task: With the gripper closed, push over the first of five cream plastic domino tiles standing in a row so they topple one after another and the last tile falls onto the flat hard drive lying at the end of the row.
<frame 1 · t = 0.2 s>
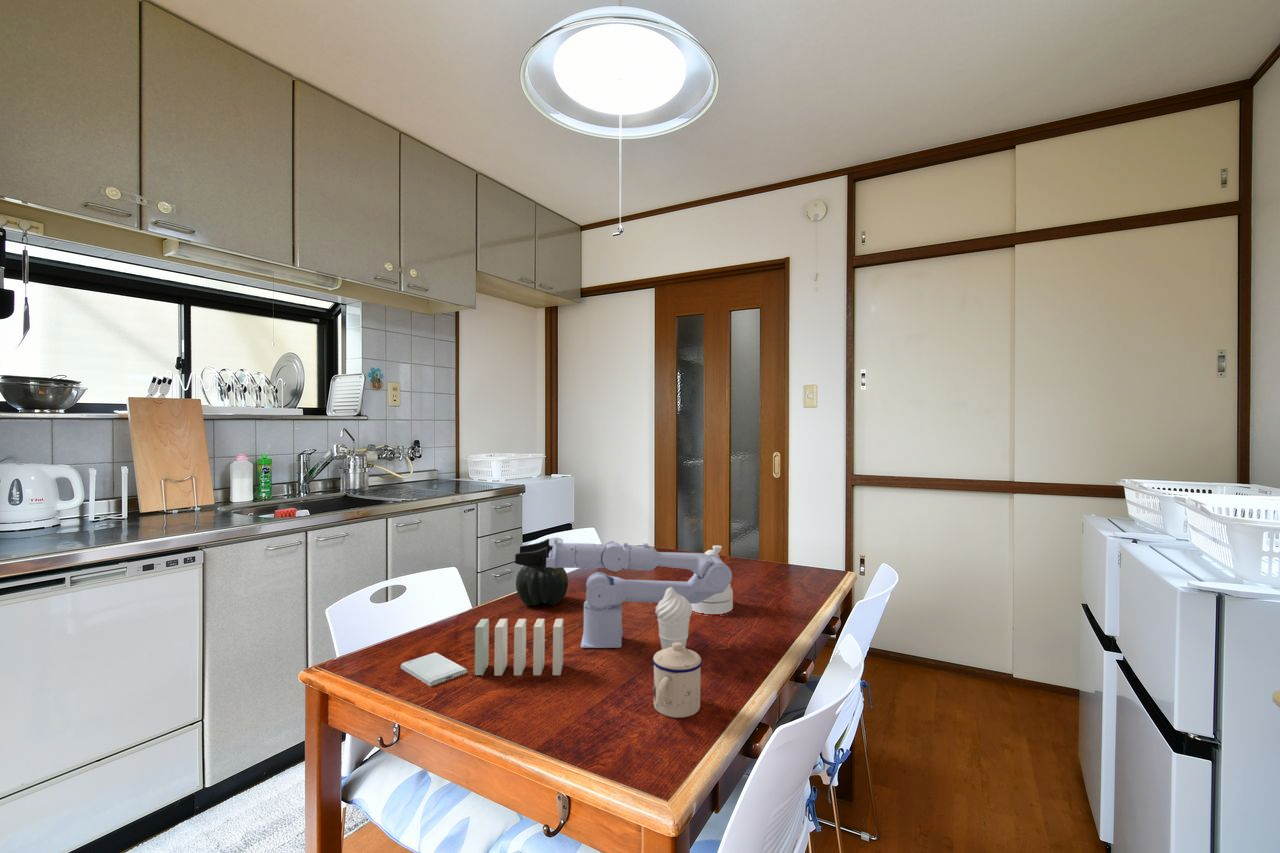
hand: (517, 554, 131), 21 cm above the table, tool horizontal, fingers open, 7 cm apart
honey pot: (710, 608, 158), on the table
domino 3: (519, 670, 117), on the table
domino 5: (481, 670, 116), on the table
teacup with lid: (673, 711, 101), on the table
domino 4: (500, 670, 116), on the table
domino 1: (557, 669, 117), on the table
squash: (541, 603, 162), on the table
hard drive: (433, 674, 116), on the table
soft serve ice cream cone: (673, 660, 123), on the table
domino 2: (538, 670, 117), on the table
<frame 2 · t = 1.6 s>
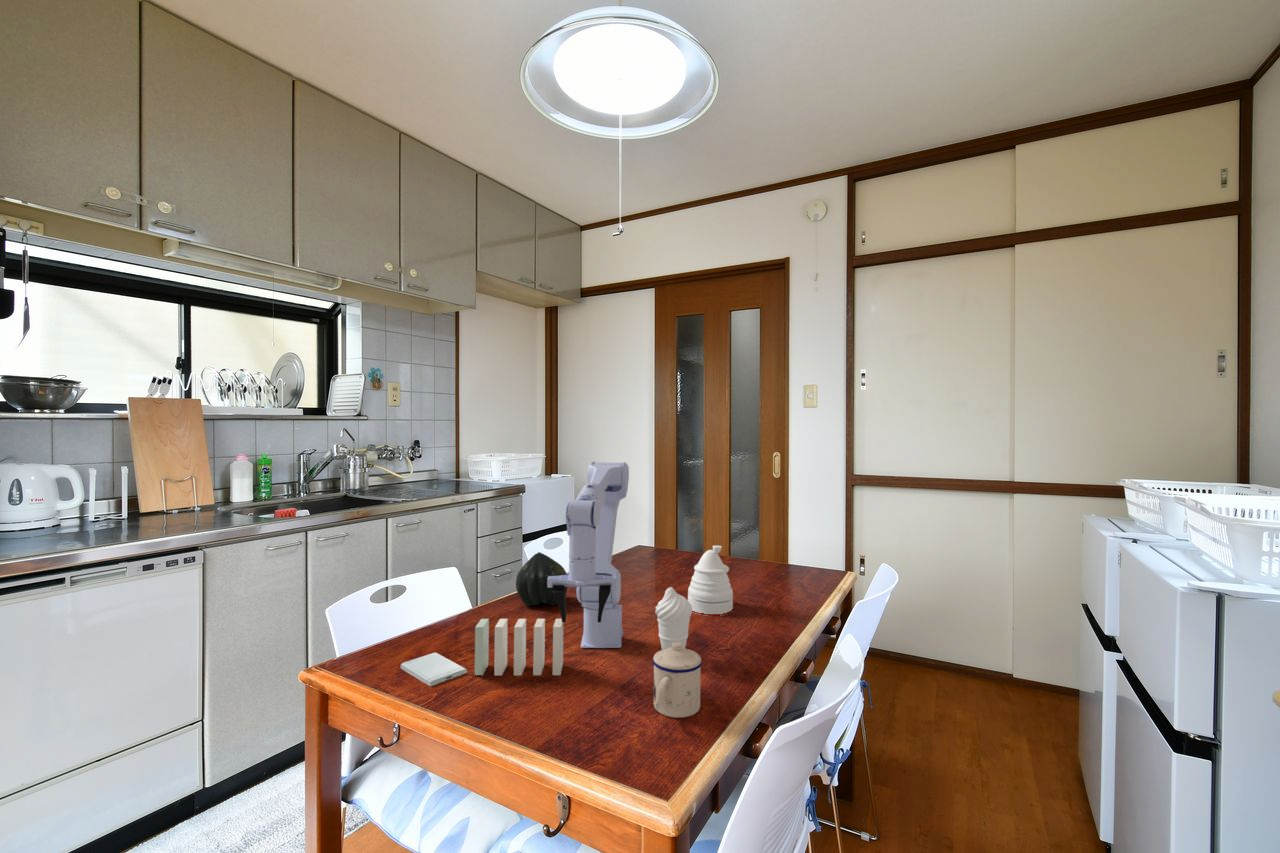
hand: (581, 620, 117), 10 cm above the table, tool pointing down, fingers open, 7 cm apart
nothing on the table moved.
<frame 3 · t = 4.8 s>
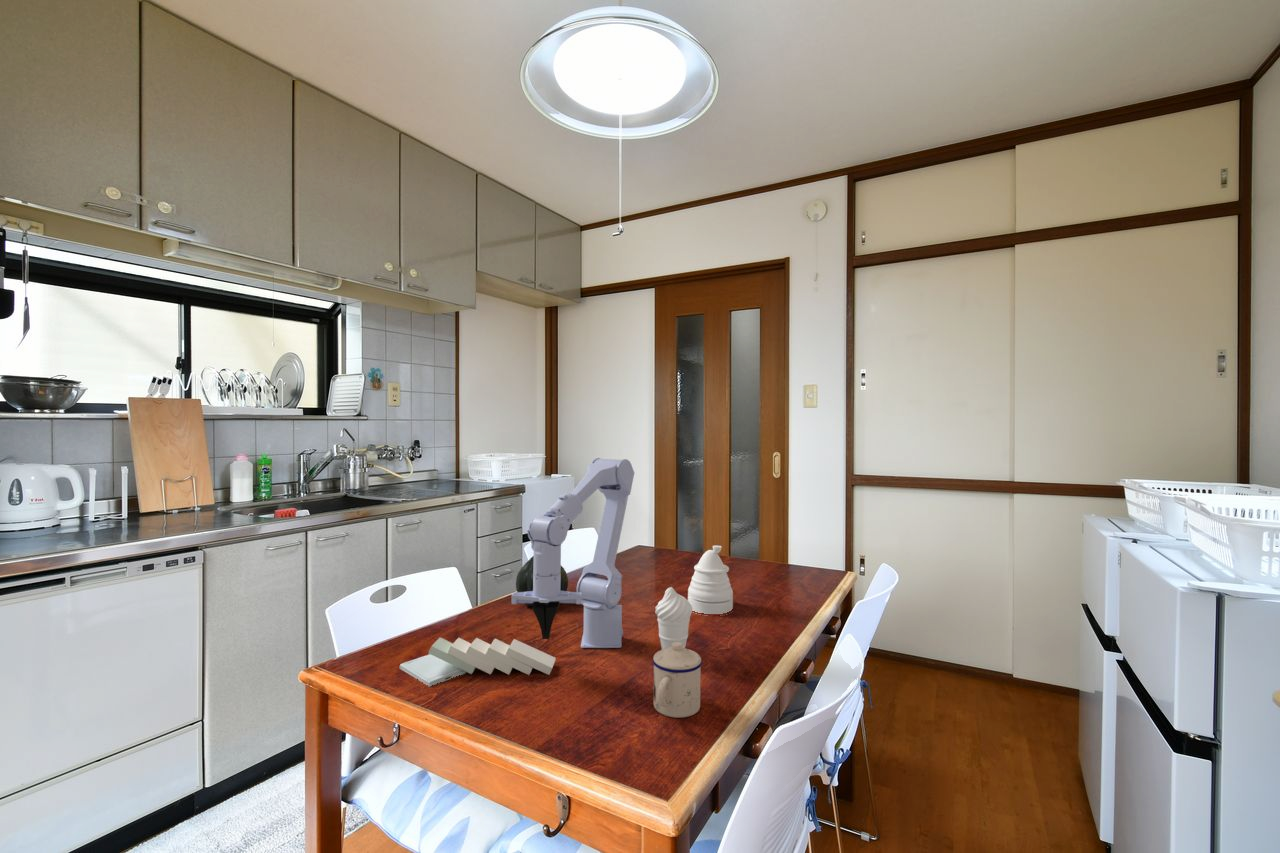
hand: (546, 637, 117), 7 cm above the table, tool pointing down, fingers closed
domino 3: (513, 666, 117), point 1 cm above the table, tilted 64°, touching domino 2, domino 4
domino 5: (476, 665, 116), point 1 cm above the table, tilted 64°, touching domino 4, hard drive
domino 4: (495, 666, 117), point 1 cm above the table, tilted 64°, touching domino 3, domino 5
domino 1: (552, 666, 117), point 1 cm above the table, tilted 66°
hard drive: (432, 674, 116), on the table, touching domino 5
domino 2: (532, 666, 117), point 1 cm above the table, tilted 65°, touching domino 3
everything else where it was.
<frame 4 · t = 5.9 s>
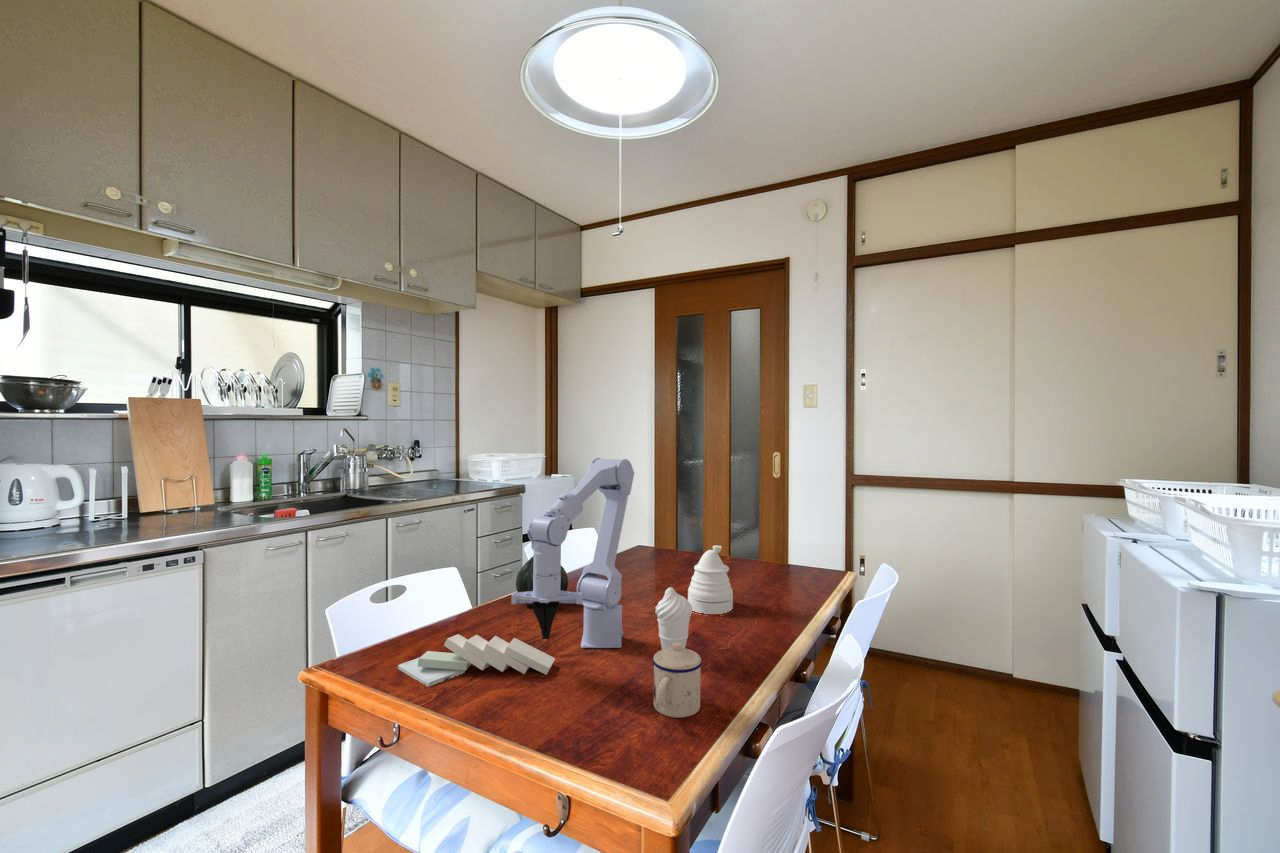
hand: (546, 637, 117), 7 cm above the table, tool pointing down, fingers closed
domino 3: (508, 664, 117), point 1 cm above the table, tilted 65°, touching domino 4
domino 5: (469, 662, 117), point 1 cm above the table, tilted 86°, touching domino 4, hard drive
domino 4: (489, 663, 117), point 1 cm above the table, tilted 65°, touching domino 3, domino 5
domino 1: (550, 666, 117), point 1 cm above the table, tilted 66°, touching domino 2
domino 2: (529, 666, 117), point 1 cm above the table, tilted 64°, touching domino 1
everything else where it was.
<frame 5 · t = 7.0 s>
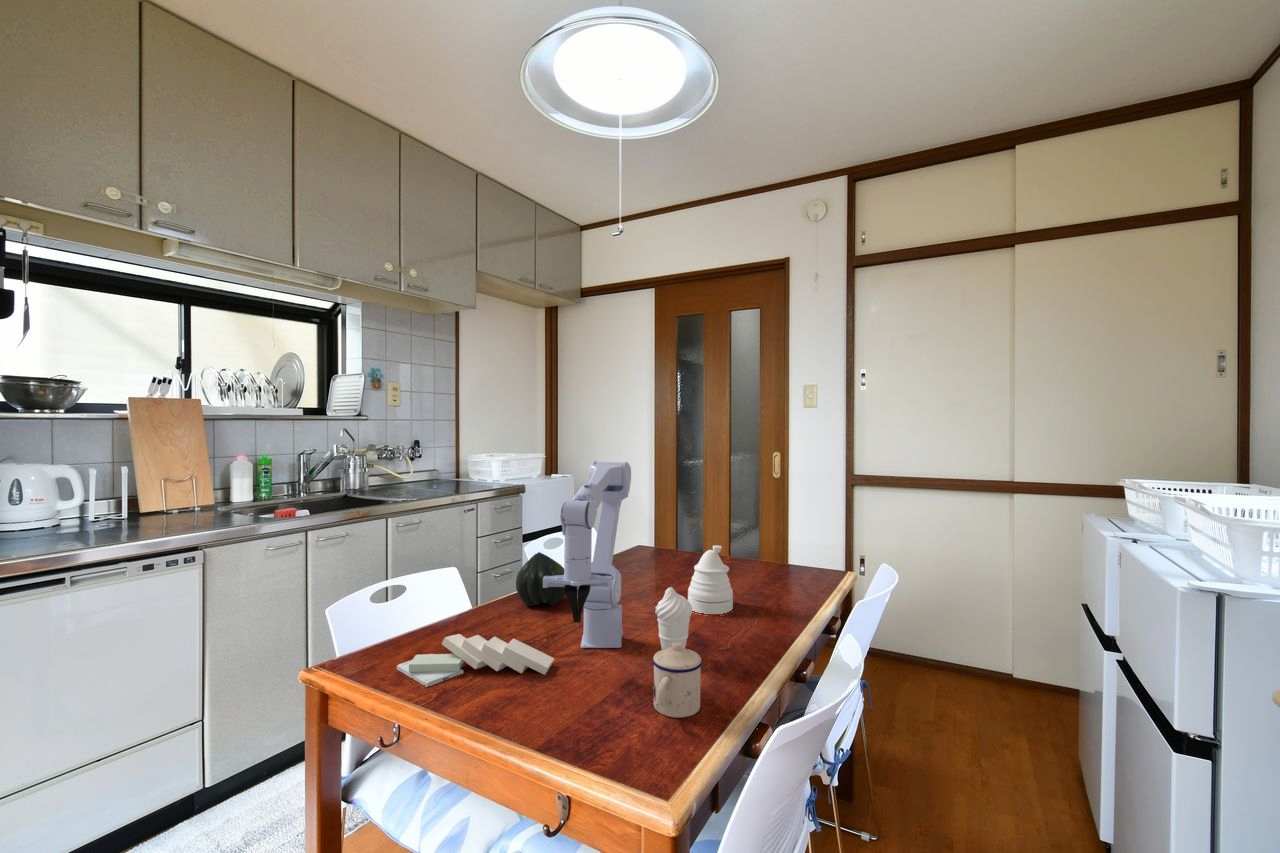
hand: (577, 620, 117), 10 cm above the table, tool pointing down, fingers closed
domino 3: (505, 664, 117), point 1 cm above the table, tilted 68°, touching domino 2, domino 4
domino 5: (461, 662, 116), point 2 cm above the table, tilted 89°, touching hard drive
domino 4: (484, 663, 117), point 1 cm above the table, tilted 69°, touching domino 3
domino 1: (549, 666, 117), point 1 cm above the table, tilted 68°
domino 2: (527, 665, 117), point 1 cm above the table, tilted 67°, touching domino 3
everything else where it was.
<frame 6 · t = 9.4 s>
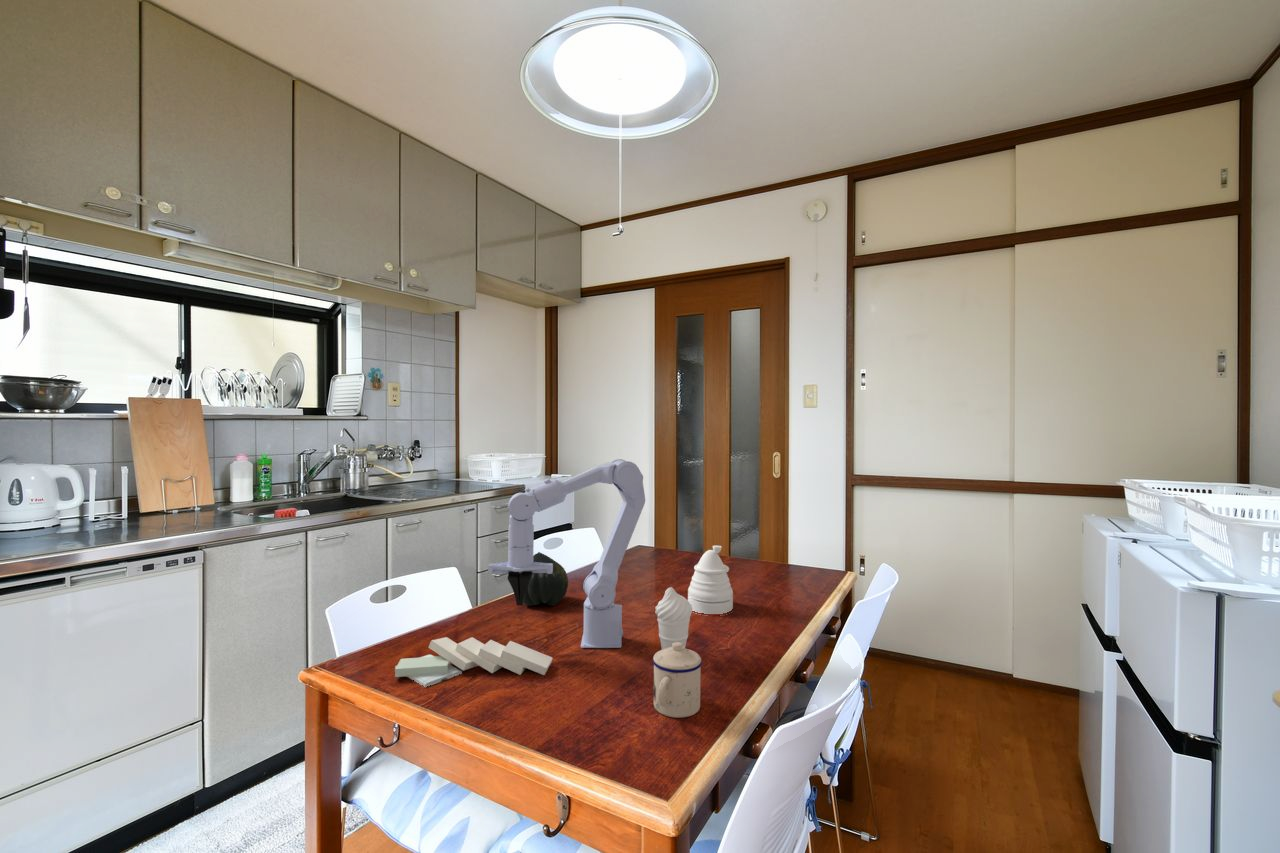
hand: (520, 604, 128), 10 cm above the table, tool pointing down, fingers closed
domino 3: (500, 665, 116), point 1 cm above the table, tilted 71°, touching domino 4
domino 5: (448, 664, 116), point 1 cm above the table, tilted 90°, touching domino 4, hard drive
domino 4: (472, 664, 116), point 1 cm above the table, tilted 72°, touching domino 3, domino 5
domino 1: (548, 666, 117), point 1 cm above the table, tilted 71°, touching domino 2
domino 2: (526, 666, 117), point 1 cm above the table, tilted 71°, touching domino 1
everything else where it was.
at the end: domino 5 tilted 90°; domino 1 tilted 71°; hard drive moved 1.5 cm from its start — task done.
